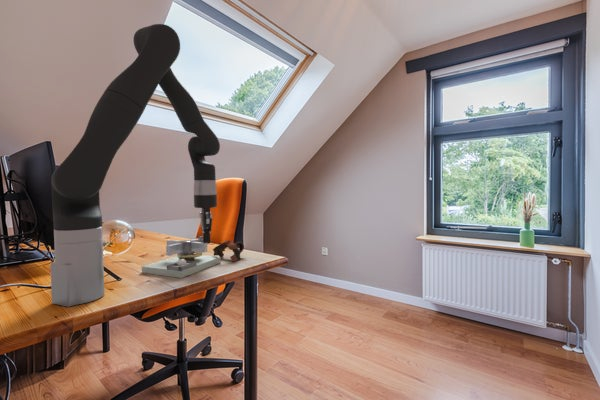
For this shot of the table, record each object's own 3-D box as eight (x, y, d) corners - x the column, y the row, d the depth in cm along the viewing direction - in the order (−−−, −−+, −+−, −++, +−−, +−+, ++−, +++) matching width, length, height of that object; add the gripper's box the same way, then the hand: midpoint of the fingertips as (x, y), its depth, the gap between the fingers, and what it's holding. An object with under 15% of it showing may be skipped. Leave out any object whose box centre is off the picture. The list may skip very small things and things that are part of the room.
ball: (182, 268, 87) (182, 260, 87) (175, 268, 88) (175, 259, 88) (188, 266, 90) (188, 258, 90) (181, 265, 91) (181, 257, 91)
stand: (181, 277, 85) (181, 266, 85) (141, 272, 90) (141, 262, 90) (220, 262, 103) (220, 253, 102) (185, 258, 108) (185, 249, 108)
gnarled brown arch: (227, 265, 100) (216, 245, 101) (216, 272, 107) (206, 253, 107) (252, 251, 109) (242, 232, 110) (241, 258, 116) (231, 240, 116)
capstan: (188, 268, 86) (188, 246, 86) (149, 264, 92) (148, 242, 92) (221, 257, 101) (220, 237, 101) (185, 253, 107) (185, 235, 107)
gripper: (219, 193, 94) (220, 245, 94) (214, 193, 106) (215, 239, 106) (195, 194, 91) (196, 248, 91) (192, 193, 103) (194, 241, 103)
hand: (206, 243), depth 99 cm, fingers closed
